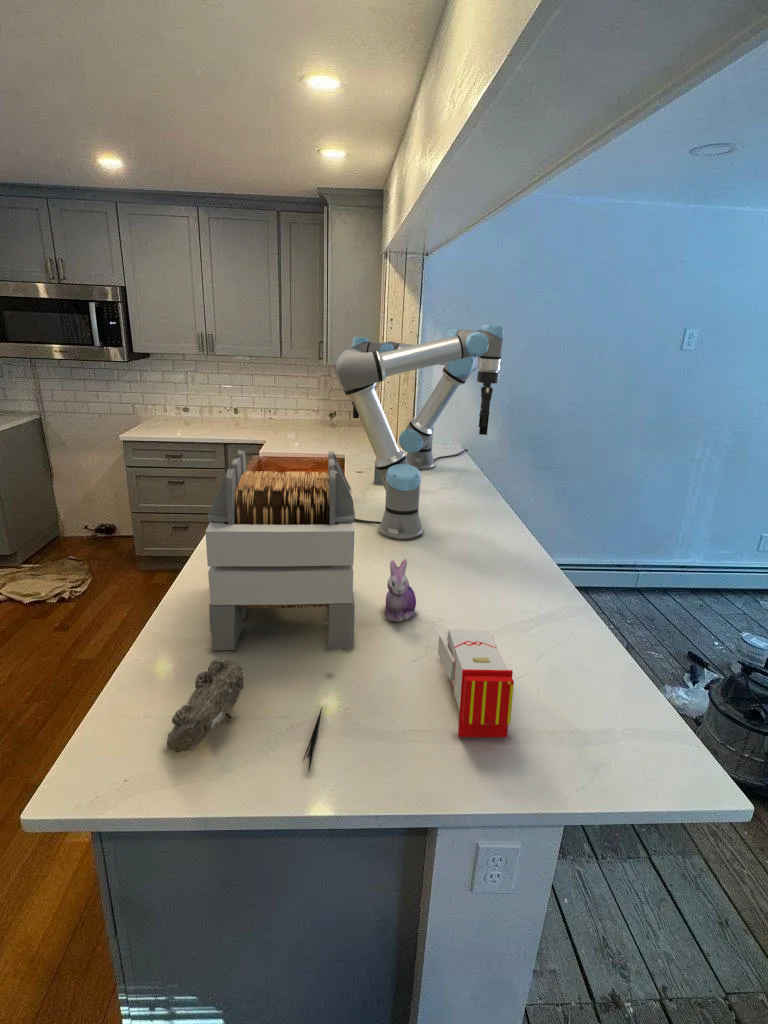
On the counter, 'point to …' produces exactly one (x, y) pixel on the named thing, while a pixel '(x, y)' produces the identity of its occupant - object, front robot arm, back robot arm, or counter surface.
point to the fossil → (206, 705)
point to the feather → (313, 740)
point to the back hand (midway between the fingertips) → (358, 415)
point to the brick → (377, 477)
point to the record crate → (281, 548)
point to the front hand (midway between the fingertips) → (482, 430)
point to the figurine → (399, 594)
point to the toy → (478, 682)
